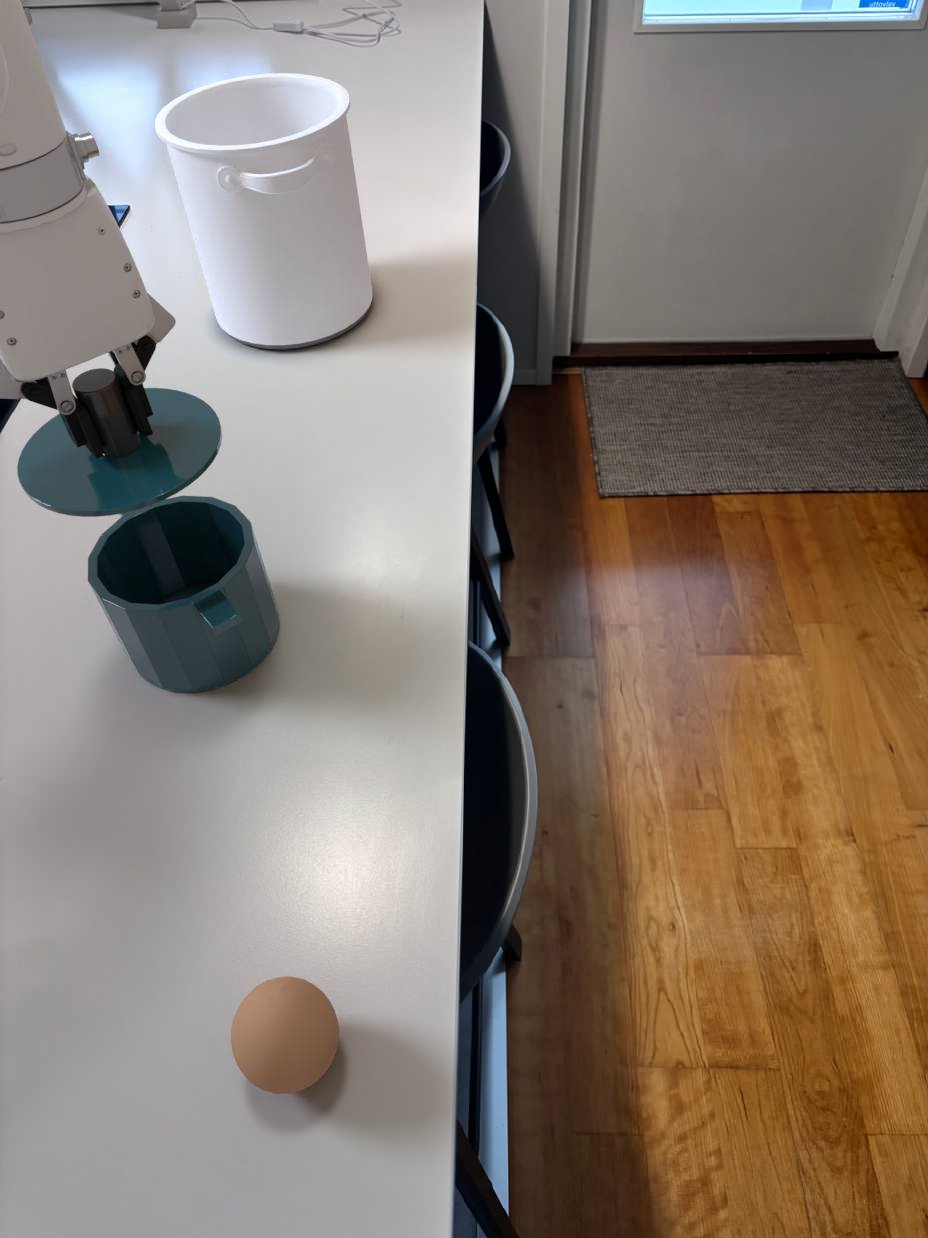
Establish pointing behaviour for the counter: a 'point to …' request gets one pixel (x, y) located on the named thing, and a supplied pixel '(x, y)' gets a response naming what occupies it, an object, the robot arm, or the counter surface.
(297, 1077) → the egg
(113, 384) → the saucepan lid
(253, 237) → the bucket
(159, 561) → the saucepan
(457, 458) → the counter surface
